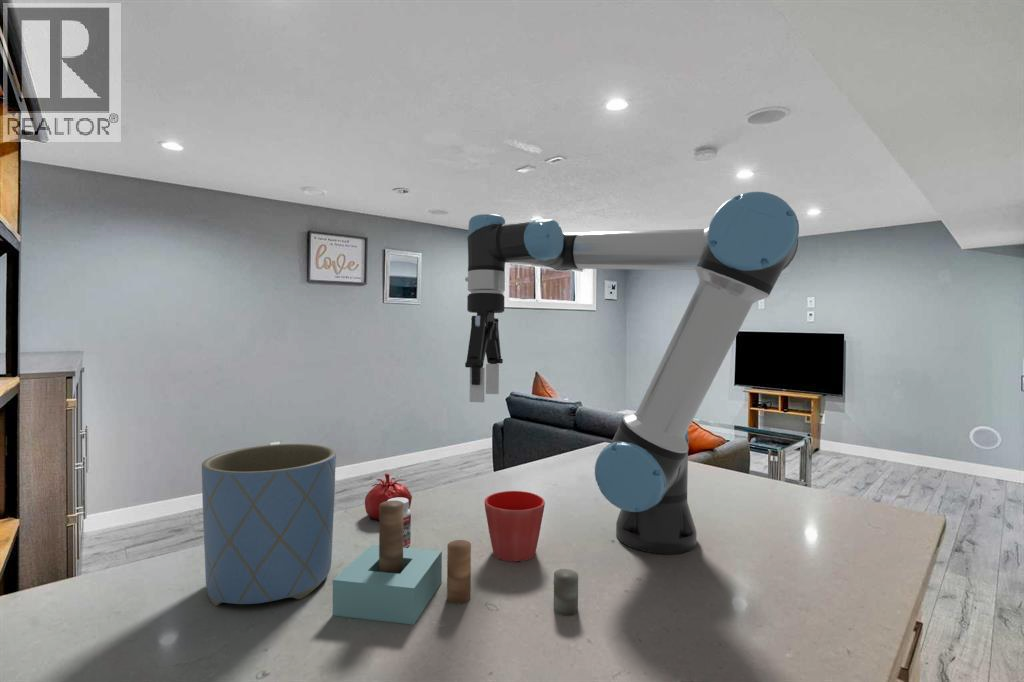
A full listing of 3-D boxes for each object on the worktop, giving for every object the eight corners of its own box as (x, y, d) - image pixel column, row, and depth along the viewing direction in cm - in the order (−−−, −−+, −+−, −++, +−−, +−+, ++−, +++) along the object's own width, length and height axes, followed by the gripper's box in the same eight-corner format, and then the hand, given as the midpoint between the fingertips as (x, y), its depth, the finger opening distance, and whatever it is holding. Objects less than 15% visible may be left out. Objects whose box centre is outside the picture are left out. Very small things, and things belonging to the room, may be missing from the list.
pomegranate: (389, 528, 103) (389, 483, 102) (354, 519, 108) (354, 476, 107) (421, 513, 111) (421, 471, 111) (387, 504, 116) (387, 464, 116)
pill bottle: (404, 551, 91) (404, 505, 91) (380, 549, 92) (380, 503, 92) (414, 541, 96) (414, 497, 96) (391, 539, 97) (391, 495, 97)
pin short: (578, 603, 74) (578, 570, 74) (577, 616, 71) (577, 581, 71) (554, 601, 75) (555, 567, 75) (552, 614, 71) (552, 579, 71)
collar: (441, 582, 80) (441, 551, 80) (413, 624, 68) (414, 588, 68) (371, 575, 82) (371, 544, 82) (332, 615, 70) (332, 579, 70)
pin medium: (473, 593, 77) (473, 540, 77) (467, 605, 73) (467, 550, 73) (451, 590, 77) (451, 539, 77) (444, 602, 74) (444, 548, 74)
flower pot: (525, 572, 84) (526, 514, 84) (472, 556, 90) (473, 502, 89) (554, 549, 93) (555, 497, 93) (504, 536, 99) (505, 487, 98)
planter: (343, 552, 91) (344, 442, 91) (322, 609, 72) (323, 470, 72) (229, 559, 88) (230, 445, 87) (176, 620, 69) (176, 475, 69)
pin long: (406, 592, 77) (407, 501, 77) (397, 604, 73) (397, 509, 73) (384, 590, 77) (385, 499, 77) (374, 602, 74) (375, 507, 74)
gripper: (482, 297, 115) (481, 390, 115) (449, 287, 90) (449, 405, 91) (514, 297, 114) (513, 391, 114) (490, 287, 89) (489, 406, 89)
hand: (485, 397), depth 102 cm, fingers open, 13 cm apart
